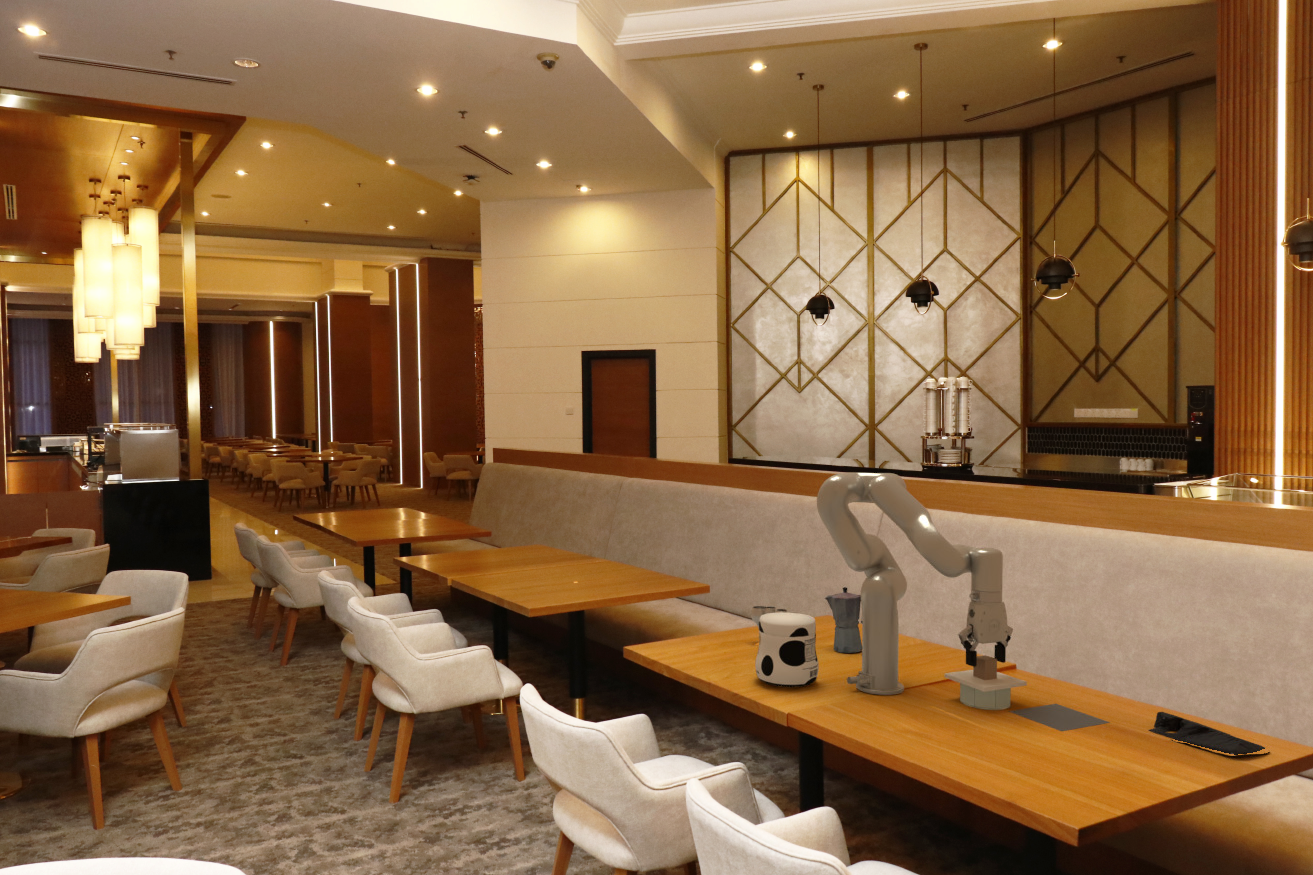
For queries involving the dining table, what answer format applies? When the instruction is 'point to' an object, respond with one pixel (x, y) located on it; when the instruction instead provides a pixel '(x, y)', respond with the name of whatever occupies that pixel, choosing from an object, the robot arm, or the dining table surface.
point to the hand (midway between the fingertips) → (985, 663)
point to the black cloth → (1201, 735)
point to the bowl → (985, 698)
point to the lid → (985, 676)
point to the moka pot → (846, 621)
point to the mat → (1059, 717)
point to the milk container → (787, 650)
